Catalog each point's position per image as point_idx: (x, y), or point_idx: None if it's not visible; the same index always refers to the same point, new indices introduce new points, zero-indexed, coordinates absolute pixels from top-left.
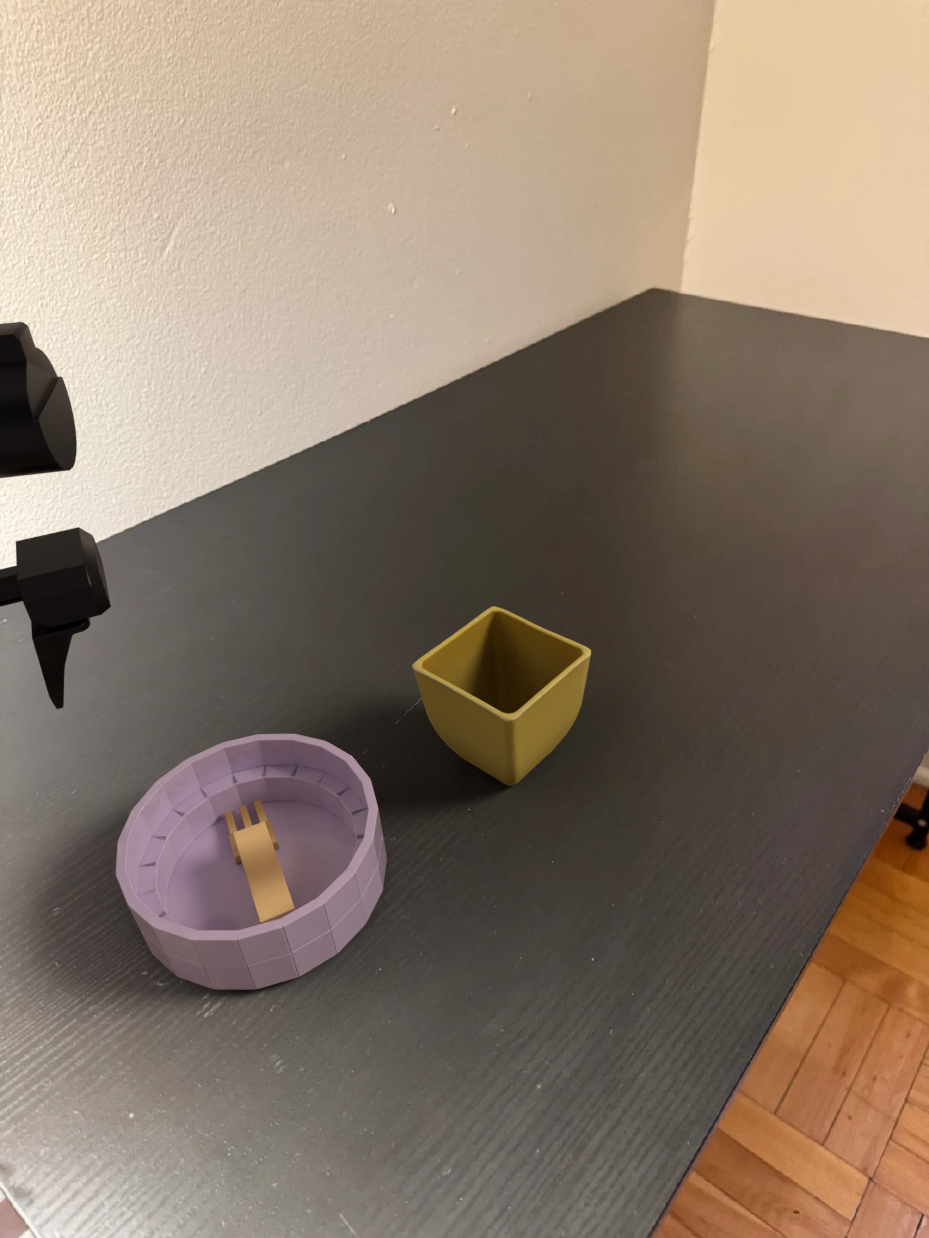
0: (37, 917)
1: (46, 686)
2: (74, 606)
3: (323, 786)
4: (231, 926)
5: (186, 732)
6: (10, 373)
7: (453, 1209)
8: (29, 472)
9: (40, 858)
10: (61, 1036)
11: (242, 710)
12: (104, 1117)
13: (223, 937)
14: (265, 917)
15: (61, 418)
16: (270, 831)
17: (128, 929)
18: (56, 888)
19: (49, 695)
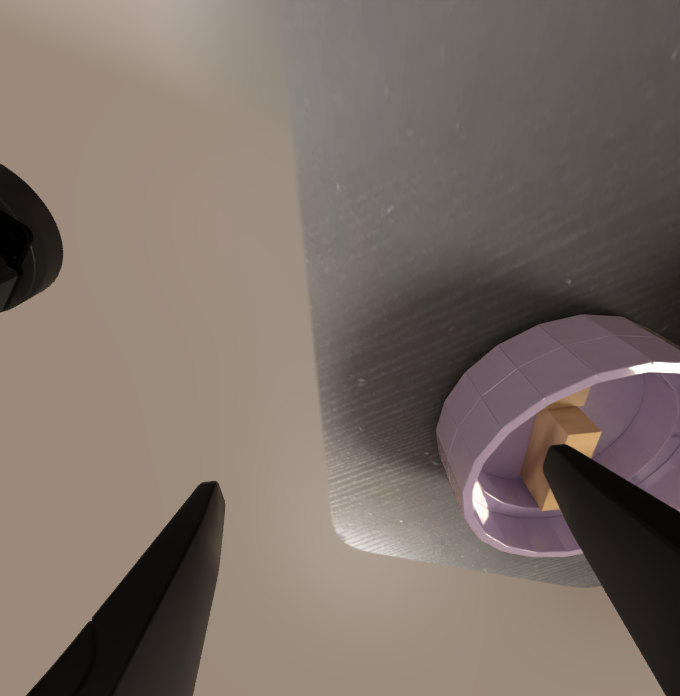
0: (343, 383)
1: (599, 579)
2: None
3: (677, 398)
4: (503, 451)
5: (576, 139)
6: None
7: (528, 575)
8: None
9: (344, 312)
10: (362, 476)
11: (677, 120)
12: (385, 519)
13: (523, 554)
14: (547, 509)
15: None
16: (585, 393)
17: (421, 418)
18: (361, 357)
19: (574, 537)
